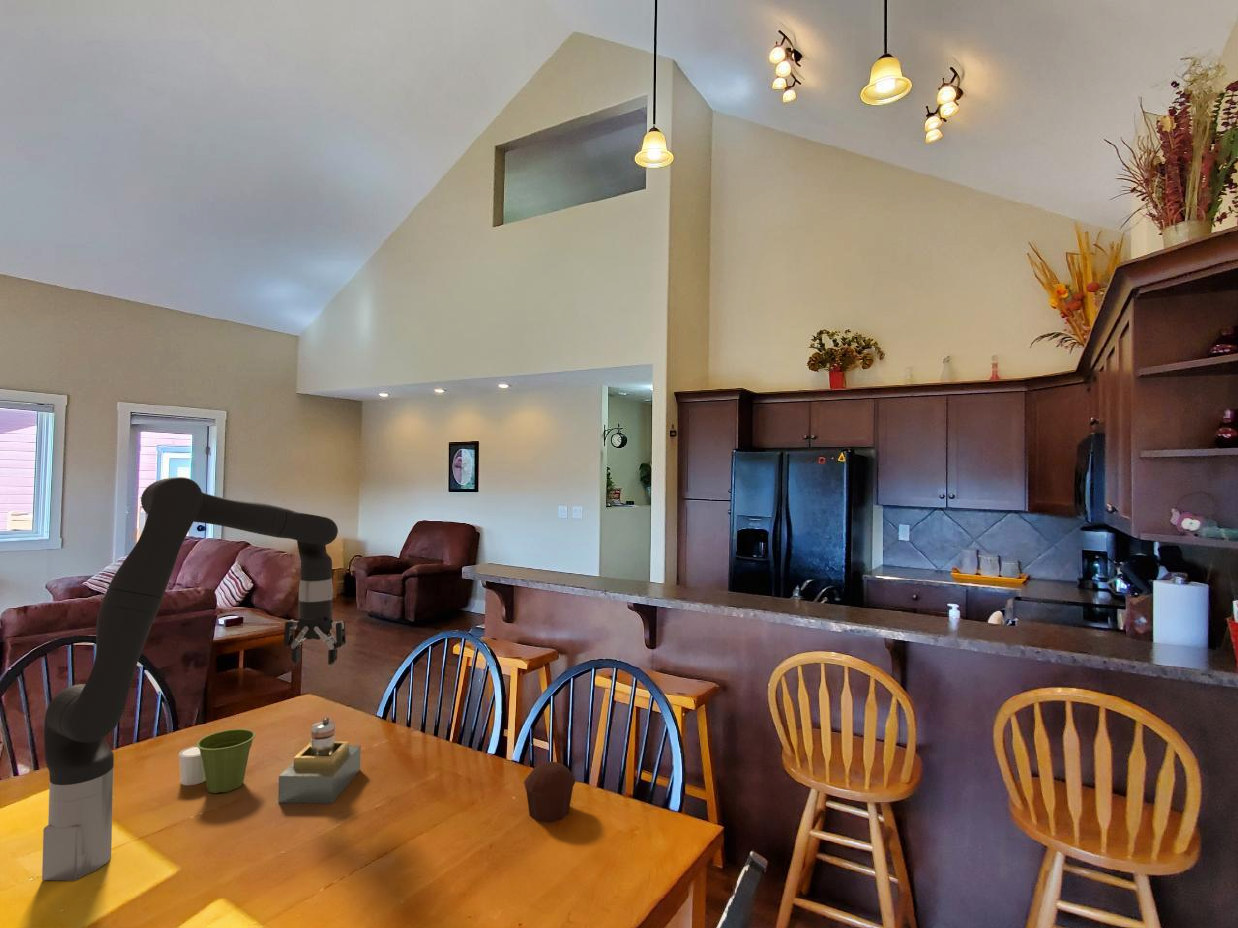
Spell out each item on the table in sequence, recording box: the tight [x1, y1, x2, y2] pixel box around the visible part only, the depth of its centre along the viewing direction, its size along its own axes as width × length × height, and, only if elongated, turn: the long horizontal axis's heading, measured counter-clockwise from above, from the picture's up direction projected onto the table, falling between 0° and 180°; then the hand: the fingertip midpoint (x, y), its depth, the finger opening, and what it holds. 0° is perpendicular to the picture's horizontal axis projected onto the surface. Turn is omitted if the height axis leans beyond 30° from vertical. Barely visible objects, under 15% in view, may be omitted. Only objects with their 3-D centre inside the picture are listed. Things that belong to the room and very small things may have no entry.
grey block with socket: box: [277, 740, 362, 804], centre depth 151 cm, size 16×12×8 cm
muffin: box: [523, 761, 576, 823], centre depth 141 cm, size 12×11×10 cm
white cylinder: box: [178, 745, 206, 786], centre depth 152 cm, size 7×7×7 cm
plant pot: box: [196, 728, 256, 794], centre depth 149 cm, size 12×12×11 cm
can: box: [310, 717, 336, 756], centre depth 150 cm, size 5×5×9 cm
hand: (314, 663), depth 156 cm, fingers open, 8 cm apart
